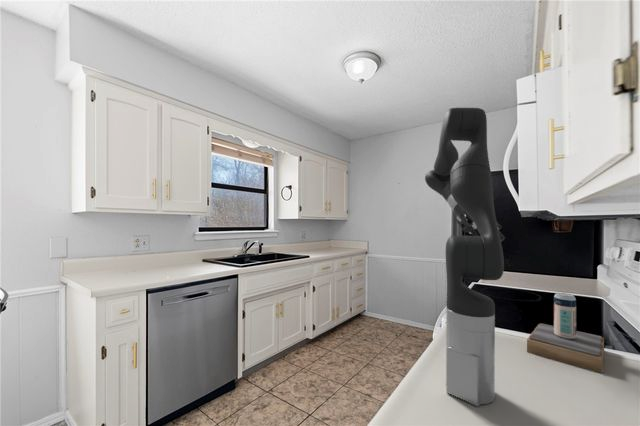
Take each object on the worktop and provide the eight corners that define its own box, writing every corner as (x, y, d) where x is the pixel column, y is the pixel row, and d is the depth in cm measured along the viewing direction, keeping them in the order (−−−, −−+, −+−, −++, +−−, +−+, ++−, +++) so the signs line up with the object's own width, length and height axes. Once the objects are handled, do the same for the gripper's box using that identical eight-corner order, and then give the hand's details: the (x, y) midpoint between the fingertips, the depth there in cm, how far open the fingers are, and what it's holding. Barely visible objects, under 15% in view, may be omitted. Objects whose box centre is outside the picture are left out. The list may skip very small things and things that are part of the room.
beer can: (567, 333, 83) (567, 292, 83) (580, 340, 78) (580, 297, 79) (549, 333, 84) (549, 291, 84) (562, 339, 79) (562, 296, 79)
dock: (602, 373, 69) (602, 356, 69) (526, 351, 80) (526, 337, 80) (604, 350, 82) (603, 336, 82) (538, 334, 92) (538, 322, 92)
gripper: (453, 196, 95) (482, 232, 84) (485, 198, 100) (517, 232, 89) (441, 212, 100) (467, 248, 89) (472, 213, 105) (501, 247, 94)
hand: (492, 240), depth 89 cm, fingers open, 8 cm apart
